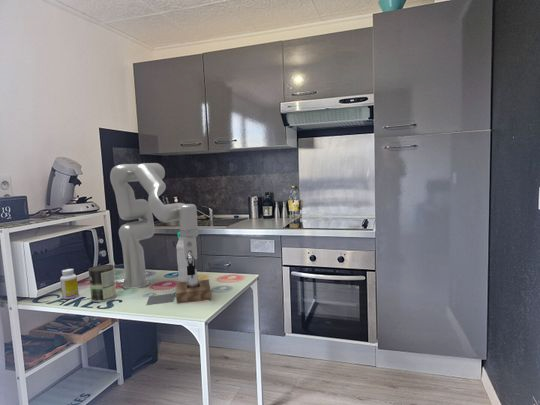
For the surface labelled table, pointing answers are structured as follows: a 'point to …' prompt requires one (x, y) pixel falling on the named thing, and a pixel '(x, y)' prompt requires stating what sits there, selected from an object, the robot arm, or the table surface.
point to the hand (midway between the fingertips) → (191, 271)
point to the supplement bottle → (69, 284)
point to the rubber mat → (160, 299)
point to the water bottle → (181, 260)
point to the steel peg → (193, 280)
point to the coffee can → (102, 283)
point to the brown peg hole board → (193, 292)
